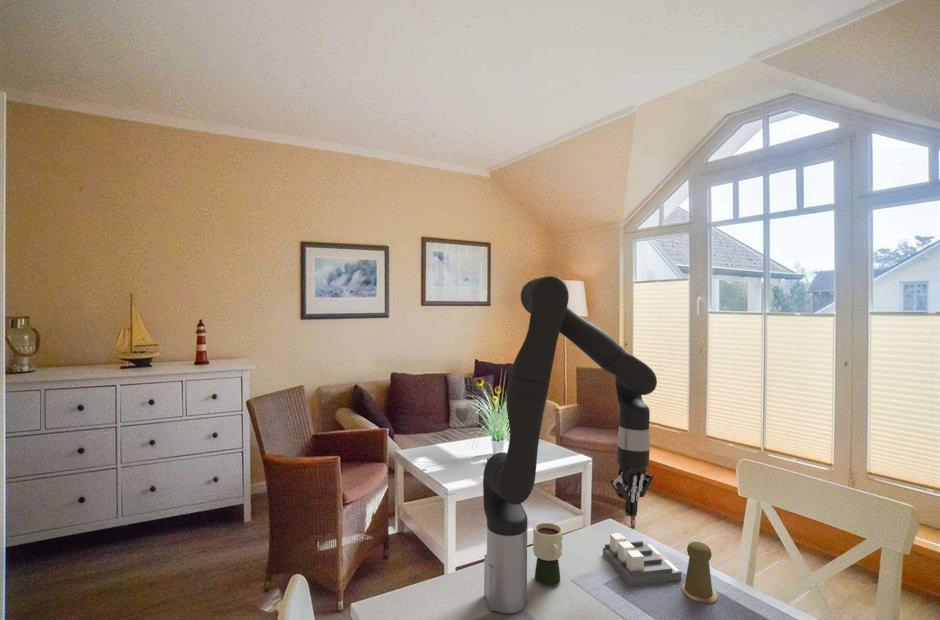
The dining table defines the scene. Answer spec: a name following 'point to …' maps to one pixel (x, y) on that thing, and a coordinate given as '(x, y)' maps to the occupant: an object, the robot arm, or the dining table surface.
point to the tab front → (635, 560)
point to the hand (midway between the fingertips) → (630, 515)
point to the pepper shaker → (699, 571)
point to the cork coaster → (702, 600)
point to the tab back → (616, 541)
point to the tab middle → (624, 550)
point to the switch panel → (654, 566)
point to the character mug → (547, 552)
